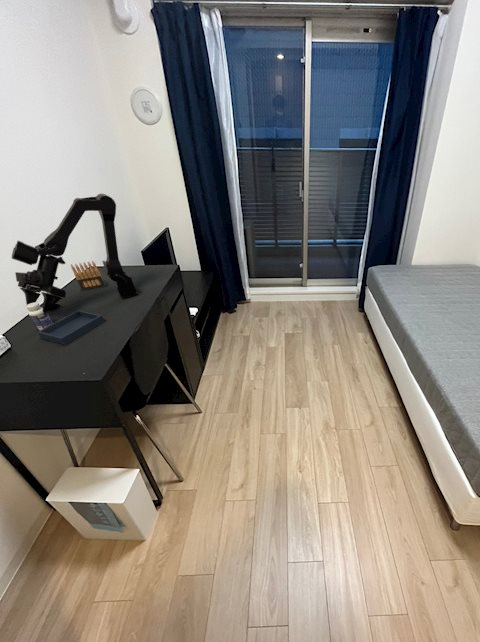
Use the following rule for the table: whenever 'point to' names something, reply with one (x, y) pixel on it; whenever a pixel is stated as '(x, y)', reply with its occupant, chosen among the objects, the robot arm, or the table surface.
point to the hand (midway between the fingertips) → (36, 310)
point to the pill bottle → (39, 316)
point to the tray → (71, 327)
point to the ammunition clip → (88, 276)
